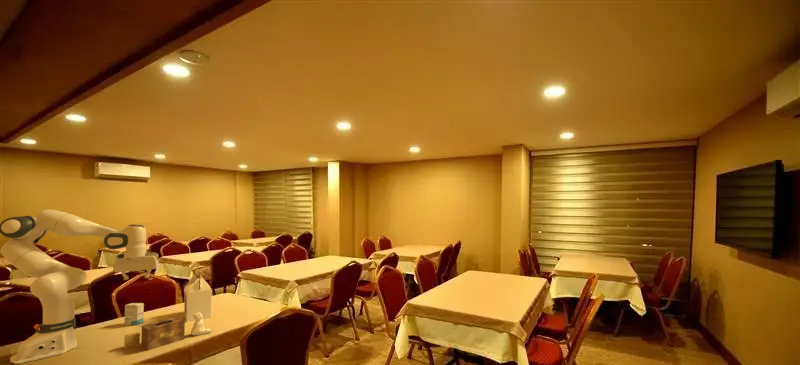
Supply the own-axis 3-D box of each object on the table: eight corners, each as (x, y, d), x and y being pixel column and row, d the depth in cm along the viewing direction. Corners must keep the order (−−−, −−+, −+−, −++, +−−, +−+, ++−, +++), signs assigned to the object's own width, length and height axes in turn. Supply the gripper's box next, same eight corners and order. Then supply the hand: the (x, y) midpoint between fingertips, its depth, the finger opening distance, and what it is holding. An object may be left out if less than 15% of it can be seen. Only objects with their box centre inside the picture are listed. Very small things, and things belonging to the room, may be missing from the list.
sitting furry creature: (212, 332, 183) (212, 310, 184) (196, 338, 176) (196, 315, 176) (203, 329, 188) (203, 308, 189) (186, 334, 180) (187, 312, 181)
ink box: (143, 322, 201) (144, 302, 202) (136, 325, 196) (137, 305, 197) (131, 322, 202) (131, 302, 203) (123, 325, 197) (124, 305, 198)
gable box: (184, 312, 218) (185, 270, 219) (207, 308, 226) (207, 267, 227) (186, 322, 200) (187, 275, 202) (211, 317, 208) (212, 272, 210)
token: (126, 348, 164) (126, 336, 164) (124, 347, 166) (124, 335, 166) (139, 345, 168) (139, 333, 169) (137, 343, 170) (138, 331, 171)
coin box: (148, 350, 162) (148, 329, 162) (141, 345, 168) (141, 325, 168) (184, 339, 175) (184, 320, 175) (176, 334, 181) (177, 316, 181)
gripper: (160, 251, 188) (160, 275, 188) (117, 254, 182) (117, 279, 182) (156, 252, 182) (156, 277, 182) (111, 256, 176) (111, 282, 176)
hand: (136, 278), depth 182 cm, fingers open, 8 cm apart
